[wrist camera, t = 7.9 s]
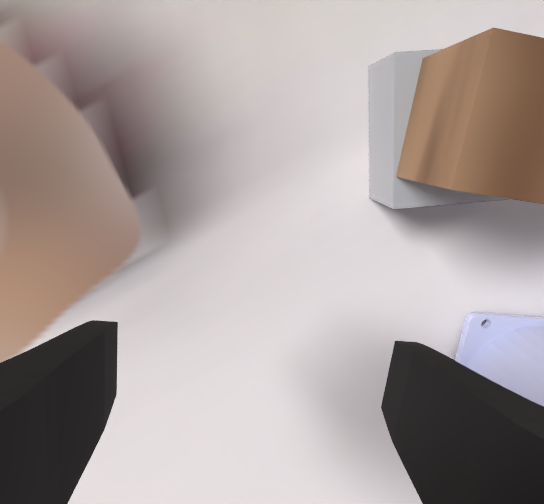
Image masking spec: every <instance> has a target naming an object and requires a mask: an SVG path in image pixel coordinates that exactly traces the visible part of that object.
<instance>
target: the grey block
mask: <svg viewBox="0 0 544 504" xmlns="http://www.w3.org/2000/svg"><path fill="white" fill-rule="evenodd" d="M441 50H443V49H439V50H423V51H407V52H394V53H393V54H391V55H389V56H387V57H385V58H383V59H381V60H379V61H378V62H376V63H374V64H372V65H370V66H368V72H369V198H370V199H372V200H375V201H377V202H379V203H381V204H383V205H385V206H387V207H390V208H392V209H401V208H413V207H425V206H436V205H448V204H459V203H471V202H483V201H494V200H506V199H508V198H502V197H495V196H488V195H482V194H475V193H469V192H462V191H456V190H450V189H446V188H442V187H437V186H433V185H429V184H425V183H421V182H416V181H412V180H408V179H404V178H400V177H396V175H397V170H398V166H399V161H400V157H401V152H402V148H403V144H404V139H405V135H406V130H407V126H408V121H409V117H410V113H411V108H412V104H413V99H414V95H415V90H416V86H417V82H418V77H419V73H420V68H421V64H422V59H423V58H424V57H427V56H429V55H431V54H434V53H436V52H438V51H441Z"/></svg>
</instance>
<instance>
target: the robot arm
mask: <svg viewBox="0 0 544 504" xmlns="http://www.w3.org/2000/svg"><path fill="white" fill-rule="evenodd" d="M484 320H487V321H486V323H485V324H484V325H481V324H482V322H483V321H484ZM117 327H118V322H108V321H93V320H92V321H89V322H86V323H84V324H82V325H80V326H77V327H75V328H73V329H71V330H69V331H67V332H65V333H63V334H61V335H59V336H57V337H55V338H53V339H51V340H49V341H47V342H45V343H43V344H41V345H39V346H37V347H35V348H33V349H31V350H28V351H26V352H24V353H22V354H20V355H17V356H15V357H13V358H11V359H8V360H6V361H4V362H2V363H0V504H67V503H68V501H69V499H70V497H71V495H72V493H73V491H74V489H75V487H76V485H77V483H78V481H79V479H80V477H81V475H82V473H83V471H84V469H85V467H86V466H87V464H88V462H89V460H90V458H91V456H92V454H93V451H94V449H95V447H96V445H97V443H98V441H99V439H100V437H101V435H102V433H103V431H104V429H105V426H106V423H107V420H108V418H109V415H110V412H111V409H112V406H113V403H114V400H115V397H116V389H117ZM381 408H382V411H383V415H384V418H385V421H386V424H387V427H388V430H389V433H390V436H391V439H392V442H393V444H394V446H395V448H396V450H397V452H398V454H399V456H400V458H401V461H402V463H403V465H404V467H405V469H406V471H407V473H408V475H409V477H410V479H411V481H412V483H413V485H414V487H415V489H416V491H417V493H418V495H419V497H420V499H421V501H422V503H423V504H544V317H534V316H522V315H509V314H496V313H483V312H472V313H470V314H469V315H468V316H467V317H466V319H465V322H464V326H463V330H462V334H461V338H460V342H459V346H458V350H457V353H456V357H455V360H453V359H451V358H449V357H447V356H446V355H444V354H442V353H440V352H438V351H436V350H434V349H432V348H430V347H428V346H425V345H423V344H420V343H417V342H404V341H395V344H394V349H393V354H392V358H391V363H390V368H389V373H388V377H387V382H386V387H385V392H384V396H383V401H382V406H381Z"/></svg>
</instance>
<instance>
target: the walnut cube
mask: <svg viewBox="0 0 544 504" xmlns="http://www.w3.org/2000/svg"><path fill="white" fill-rule="evenodd" d="M396 177H400V178H404V179H408V180H412V181H416V182H421V183H425V184H429V185H433V186H437V187H442V188H446V189H450V190H456V191H462V192H469V193H475V194H482V195H488V196H495V197H502V198H508V199H515V200H521V201H528V202H534V203H541V204H544V38H541V37H536V36H531V35H527V34H522V33H517V32H512V31H507V30H502V29H497V28H492V29H489V30H487V31H485V32H482V33H480V34H478V35H475V36H473V37H471V38H468V39H466V40H464V41H462V42H459V43H457V44H455V45H452V46H450V47H448V48H445V49H443V50H441V51H438V52H436V53H434V54H431V55H429V56H427V57H424V58H423V59H422V64H421V68H420V73H419V77H418V82H417V86H416V90H415V95H414V99H413V104H412V108H411V113H410V117H409V121H408V126H407V130H406V135H405V139H404V144H403V148H402V152H401V157H400V161H399V166H398V170H397V175H396Z"/></svg>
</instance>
